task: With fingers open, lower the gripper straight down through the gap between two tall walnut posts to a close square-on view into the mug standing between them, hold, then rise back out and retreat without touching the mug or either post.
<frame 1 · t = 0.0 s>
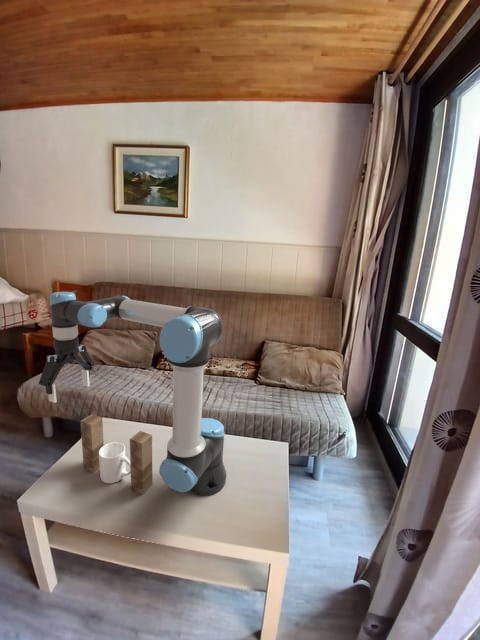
hand: (70, 393, 111), 28 cm above the table, fingers open, 13 cm apart
post near: (141, 487, 107), on the table
mug: (117, 477, 111), on the table
post far: (94, 466, 115), on the table
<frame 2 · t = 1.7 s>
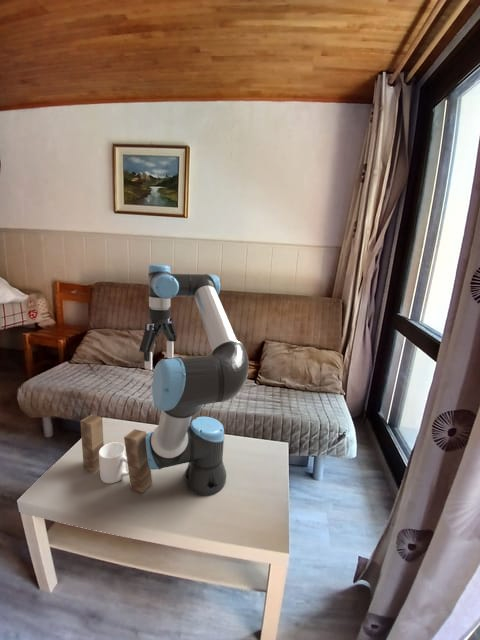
hand: (159, 362, 116), 39 cm above the table, fingers open, 13 cm apart
post near: (141, 486, 107), on the table, tilted 7°
everything else where it was.
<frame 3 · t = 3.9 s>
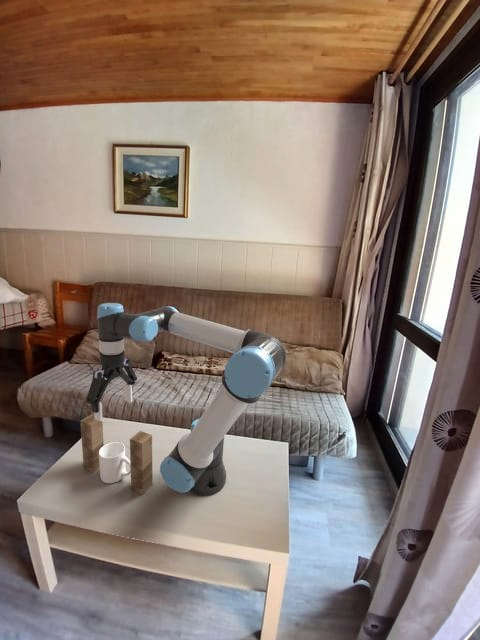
hand: (114, 410, 104), 27 cm above the table, fingers open, 13 cm apart
post near: (141, 487, 107), on the table
everything else where it was.
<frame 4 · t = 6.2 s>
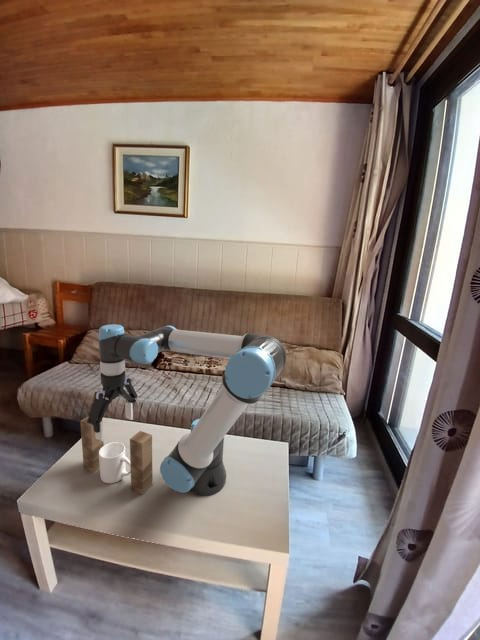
hand: (115, 428, 106), 20 cm above the table, fingers open, 13 cm apart
nothing on the table moved.
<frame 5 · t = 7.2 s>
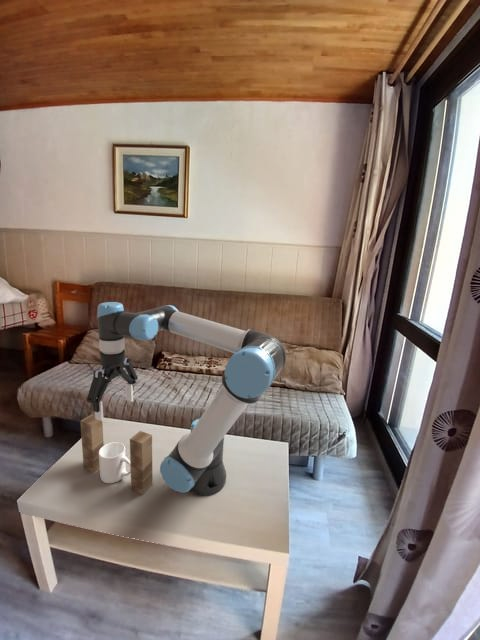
hand: (115, 409, 104), 27 cm above the table, fingers open, 13 cm apart
nothing on the table moved.
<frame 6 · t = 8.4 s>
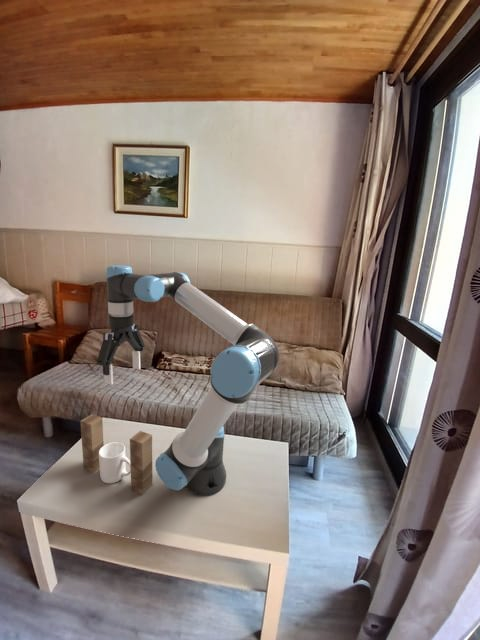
hand: (123, 375, 104), 39 cm above the table, fingers open, 13 cm apart
nothing on the table moved.
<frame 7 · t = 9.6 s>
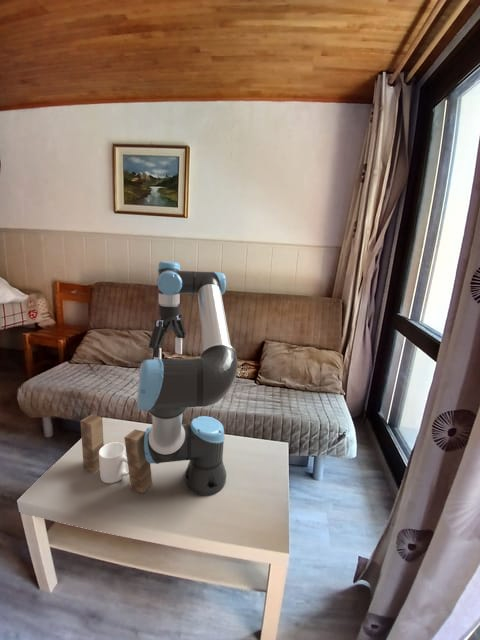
hand: (168, 358, 117), 40 cm above the table, fingers open, 13 cm apart
post near: (141, 486, 107), on the table, tilted 7°, touching arm
everything else where it was.
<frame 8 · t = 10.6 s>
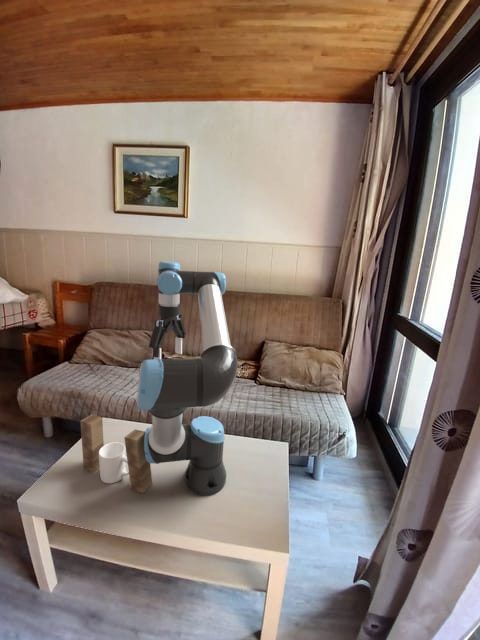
hand: (168, 358, 117), 40 cm above the table, fingers open, 13 cm apart
nothing on the table moved.
at the end: mug moved 0.2 cm from its start; post near moved 0.3 cm from its start; post far moved 0.0 cm from its start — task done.
